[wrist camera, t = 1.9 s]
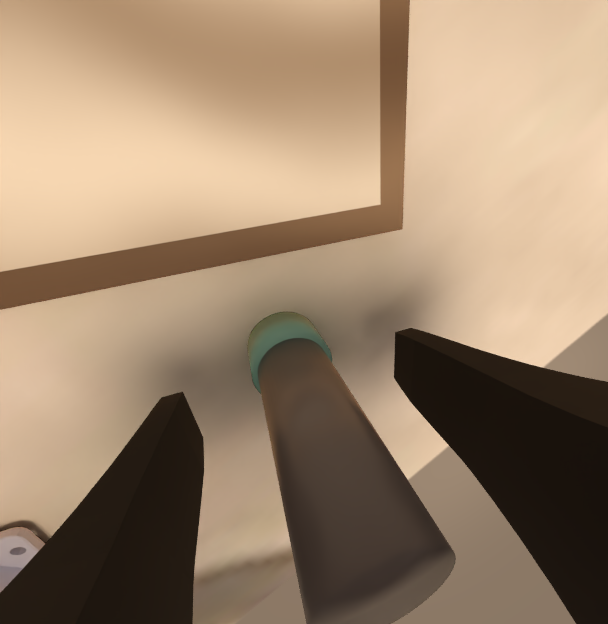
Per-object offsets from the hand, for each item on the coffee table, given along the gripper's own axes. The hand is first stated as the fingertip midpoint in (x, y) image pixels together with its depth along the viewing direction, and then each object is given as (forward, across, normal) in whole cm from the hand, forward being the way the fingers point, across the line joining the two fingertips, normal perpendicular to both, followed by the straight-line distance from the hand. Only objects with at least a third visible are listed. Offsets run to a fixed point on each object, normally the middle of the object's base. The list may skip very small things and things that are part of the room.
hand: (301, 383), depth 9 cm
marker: (+3, 0, 0) cm, 3 cm away
